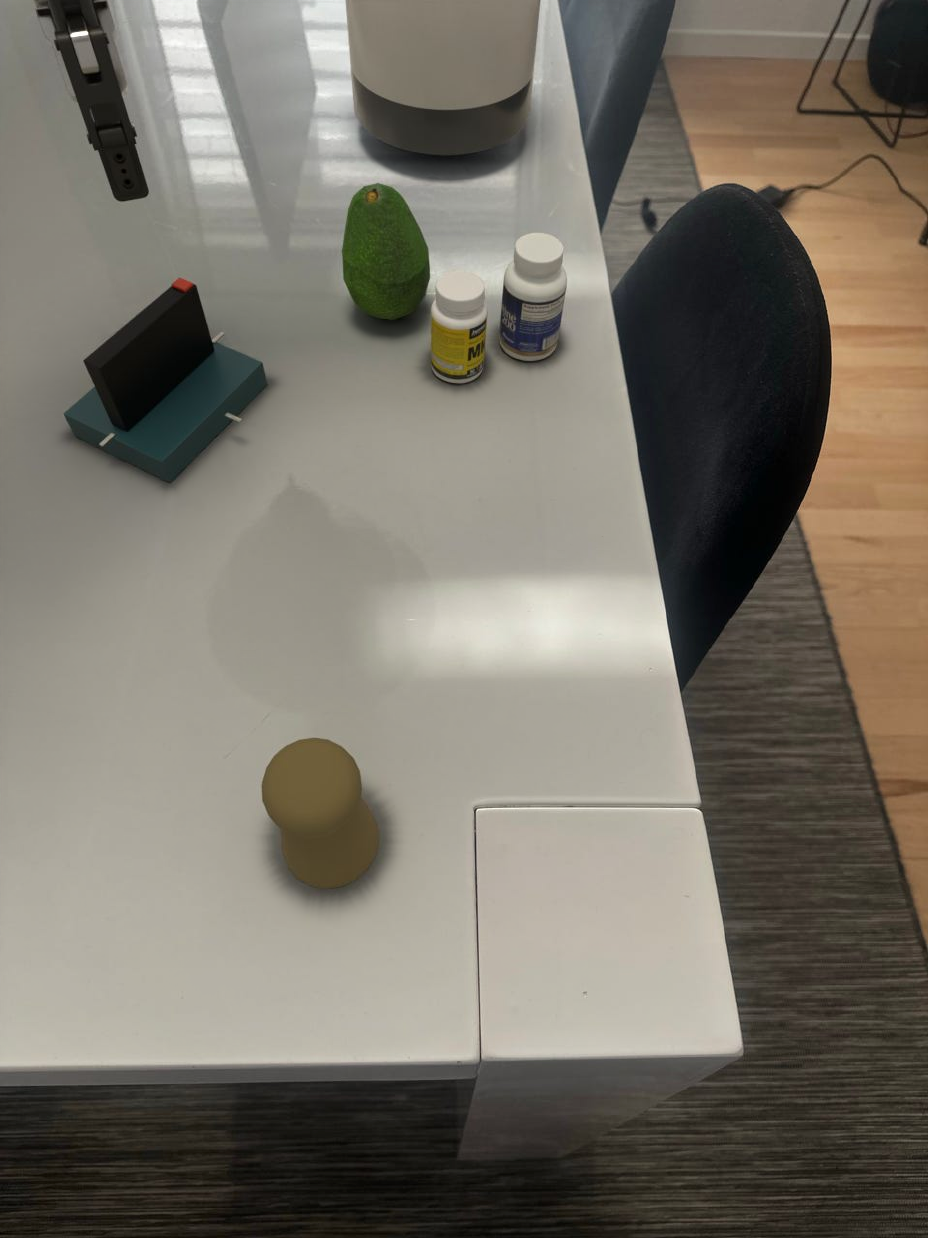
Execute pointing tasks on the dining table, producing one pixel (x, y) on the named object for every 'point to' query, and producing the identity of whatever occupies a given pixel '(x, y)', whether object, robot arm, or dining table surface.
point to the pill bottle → (533, 298)
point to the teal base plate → (176, 414)
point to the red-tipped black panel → (151, 354)
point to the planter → (442, 71)
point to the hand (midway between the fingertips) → (122, 160)
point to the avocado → (384, 254)
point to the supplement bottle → (458, 327)
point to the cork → (320, 812)
